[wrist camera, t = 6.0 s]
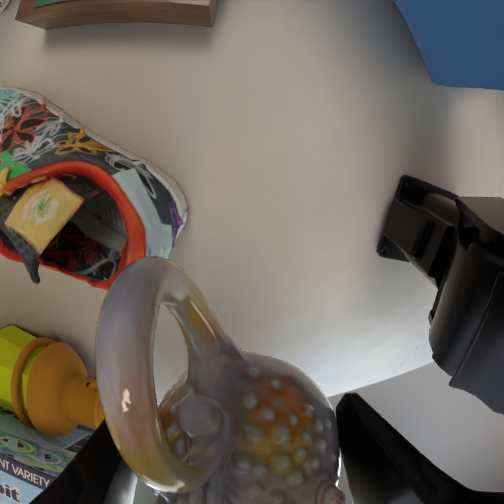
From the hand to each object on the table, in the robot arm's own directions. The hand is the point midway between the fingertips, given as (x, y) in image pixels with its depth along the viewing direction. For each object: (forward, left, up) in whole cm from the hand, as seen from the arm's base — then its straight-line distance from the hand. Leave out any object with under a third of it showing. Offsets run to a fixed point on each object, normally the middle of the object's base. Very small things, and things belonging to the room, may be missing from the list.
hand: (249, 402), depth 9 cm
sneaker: (+14, -4, -13) cm, 19 cm away
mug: (+1, 0, -2) cm, 2 cm away
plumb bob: (+16, +15, -13) cm, 25 cm away
